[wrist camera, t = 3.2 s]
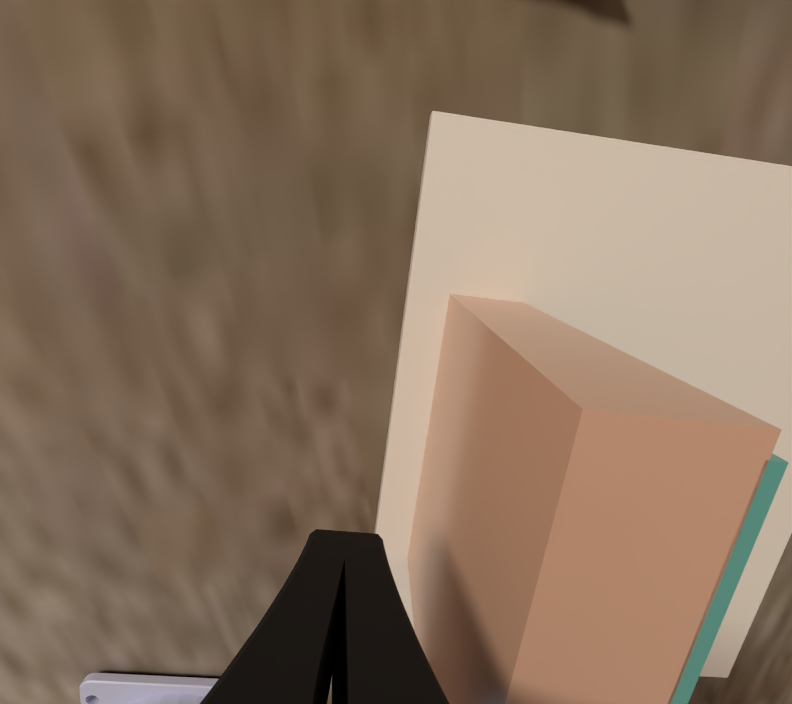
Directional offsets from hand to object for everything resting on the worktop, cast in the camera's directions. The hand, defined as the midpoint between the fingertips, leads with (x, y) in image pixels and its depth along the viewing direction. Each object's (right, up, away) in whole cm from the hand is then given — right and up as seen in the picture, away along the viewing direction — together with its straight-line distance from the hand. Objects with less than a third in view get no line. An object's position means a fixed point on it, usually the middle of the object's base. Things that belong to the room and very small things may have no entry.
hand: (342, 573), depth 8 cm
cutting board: (+9, +1, +7) cm, 11 cm away
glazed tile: (+3, +1, +6) cm, 7 cm away
